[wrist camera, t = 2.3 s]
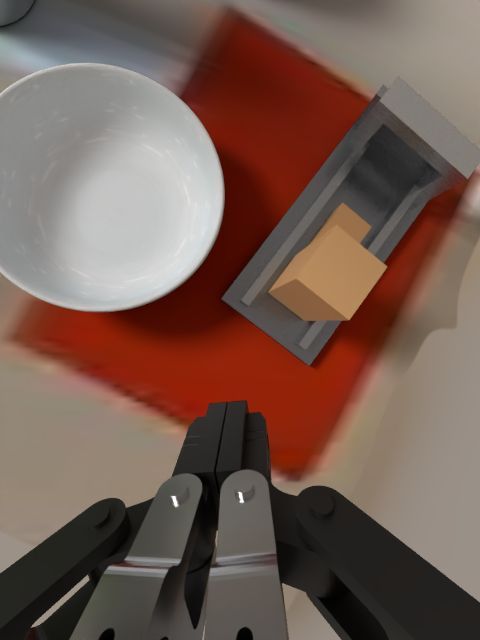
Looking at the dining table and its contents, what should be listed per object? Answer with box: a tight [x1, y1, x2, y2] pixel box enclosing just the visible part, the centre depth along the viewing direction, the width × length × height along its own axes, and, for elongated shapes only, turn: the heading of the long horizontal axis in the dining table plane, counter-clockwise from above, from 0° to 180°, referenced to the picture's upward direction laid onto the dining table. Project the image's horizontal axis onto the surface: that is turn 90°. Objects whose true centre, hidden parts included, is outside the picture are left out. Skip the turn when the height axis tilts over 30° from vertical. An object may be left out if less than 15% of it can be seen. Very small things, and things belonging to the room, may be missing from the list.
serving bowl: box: [0, 63, 225, 312], centre depth 27 cm, size 21×21×7 cm
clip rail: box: [221, 76, 480, 366], centre depth 29 cm, size 26×12×8 cm, turn 143°
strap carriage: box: [268, 203, 387, 321], centre depth 27 cm, size 12×5×10 cm, turn 143°
